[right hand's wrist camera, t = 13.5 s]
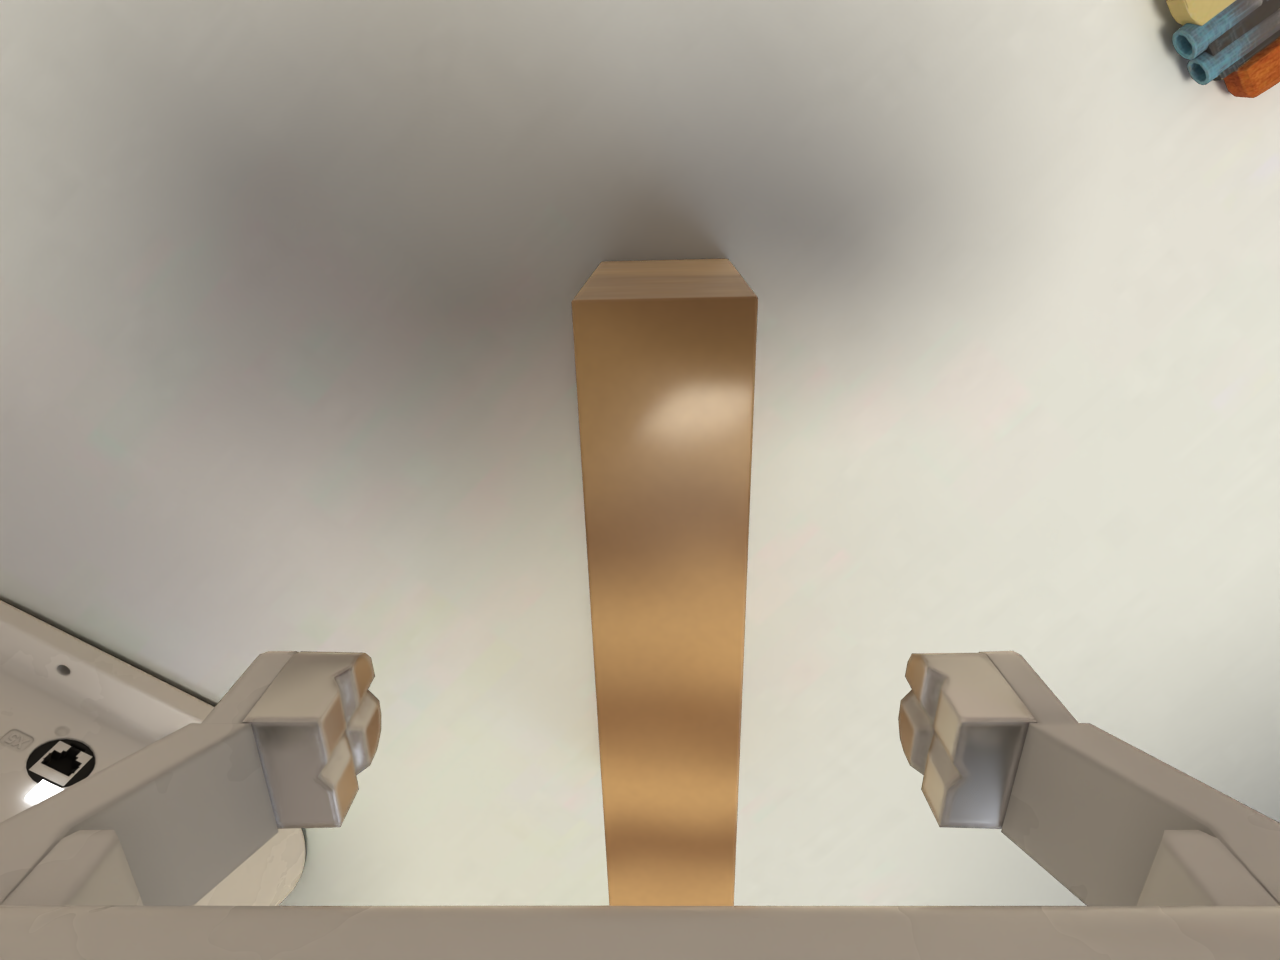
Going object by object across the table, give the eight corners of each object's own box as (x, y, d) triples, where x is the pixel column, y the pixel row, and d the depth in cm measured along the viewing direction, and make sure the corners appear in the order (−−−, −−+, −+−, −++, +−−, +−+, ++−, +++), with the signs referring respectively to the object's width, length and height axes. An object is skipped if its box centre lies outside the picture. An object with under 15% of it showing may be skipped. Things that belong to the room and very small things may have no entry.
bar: (600, 261, 25) (570, 300, 17) (728, 258, 25) (758, 296, 17) (624, 779, 35) (612, 957, 27) (716, 780, 34) (731, 959, 27)
